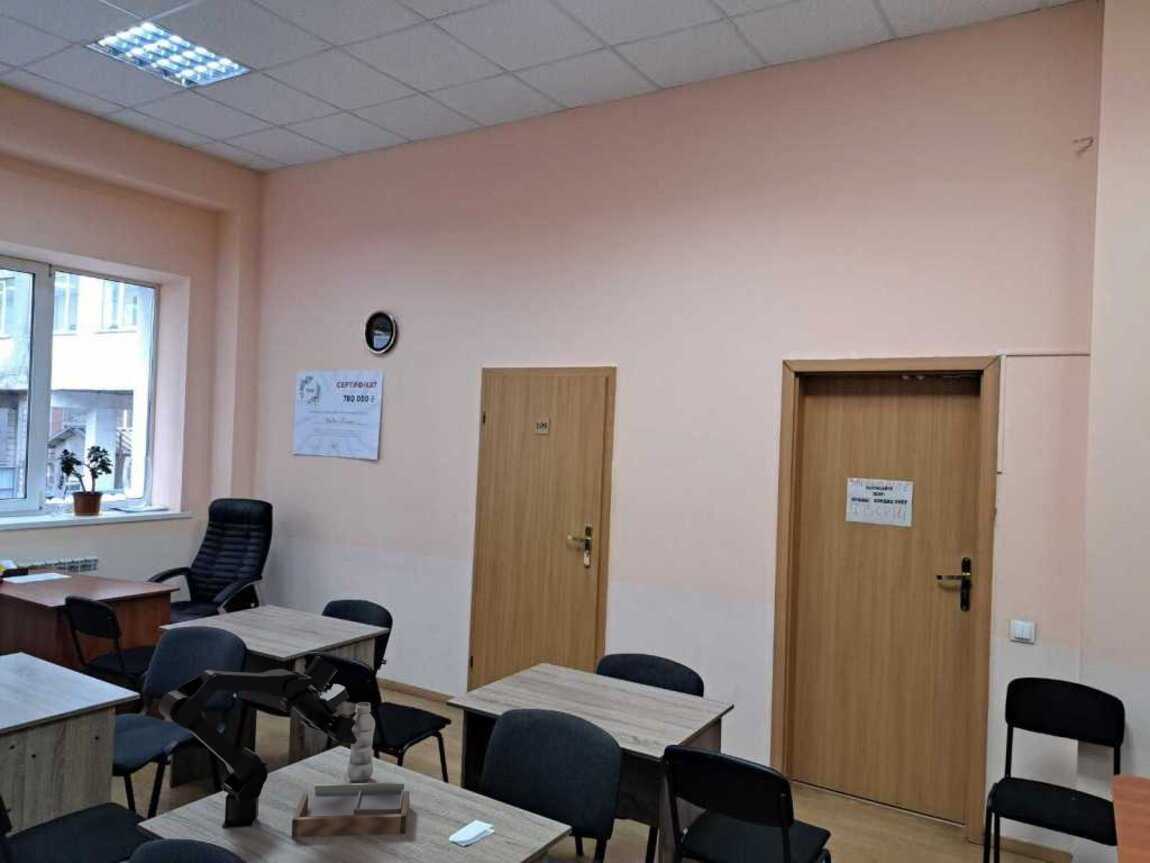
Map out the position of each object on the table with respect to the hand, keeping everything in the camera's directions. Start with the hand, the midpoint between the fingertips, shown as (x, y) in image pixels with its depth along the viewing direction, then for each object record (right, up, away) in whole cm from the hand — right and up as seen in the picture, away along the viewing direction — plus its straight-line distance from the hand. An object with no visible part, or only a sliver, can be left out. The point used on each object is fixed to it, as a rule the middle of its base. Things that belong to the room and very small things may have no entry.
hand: (345, 737), depth 209 cm
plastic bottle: (+3, -13, +4) cm, 14 cm away
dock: (+7, -13, -19) cm, 24 cm away
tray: (+6, -13, -12) cm, 19 cm away
